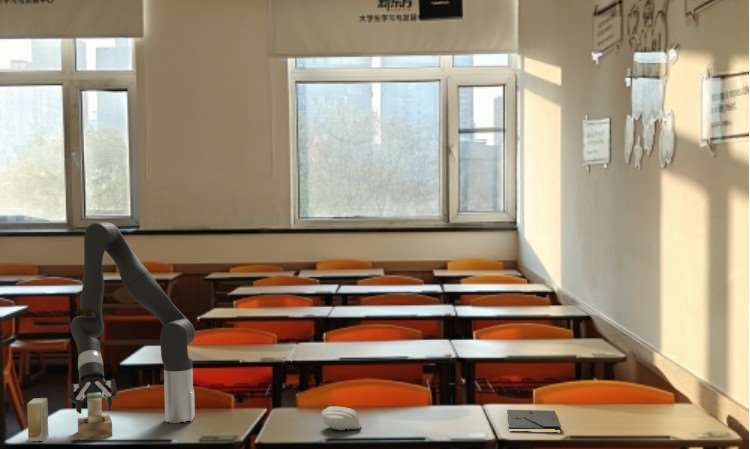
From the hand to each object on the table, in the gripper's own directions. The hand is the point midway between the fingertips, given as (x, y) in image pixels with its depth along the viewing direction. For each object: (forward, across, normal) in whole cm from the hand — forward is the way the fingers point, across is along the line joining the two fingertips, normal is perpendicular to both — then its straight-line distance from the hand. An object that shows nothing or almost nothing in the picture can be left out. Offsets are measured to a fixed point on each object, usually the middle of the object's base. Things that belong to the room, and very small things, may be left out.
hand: (94, 410), depth 250 cm
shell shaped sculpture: (+26, +72, -14) cm, 78 cm away
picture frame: (+41, +129, -29) cm, 139 cm away
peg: (+4, 0, +6) cm, 7 cm away
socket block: (+4, 0, +6) cm, 8 cm away
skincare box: (+3, -16, +8) cm, 18 cm away
